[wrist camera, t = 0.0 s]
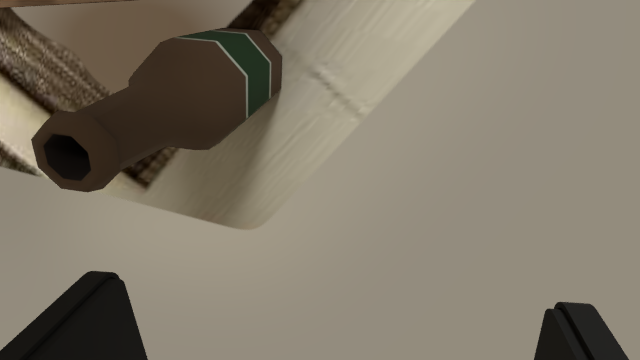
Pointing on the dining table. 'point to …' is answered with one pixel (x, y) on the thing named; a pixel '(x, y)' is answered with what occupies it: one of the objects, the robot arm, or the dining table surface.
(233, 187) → the dining table surface
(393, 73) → the dining table surface
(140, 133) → the beer bottle
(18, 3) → the walnut tray
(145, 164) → the dining table surface
